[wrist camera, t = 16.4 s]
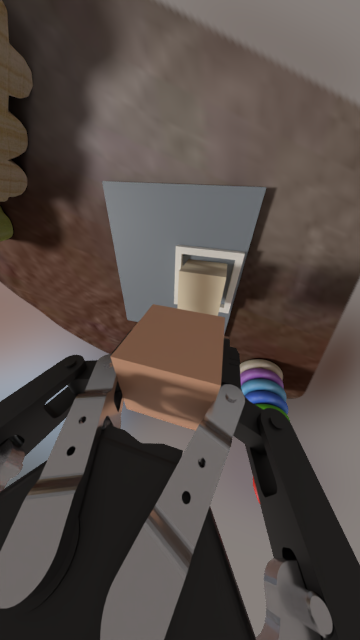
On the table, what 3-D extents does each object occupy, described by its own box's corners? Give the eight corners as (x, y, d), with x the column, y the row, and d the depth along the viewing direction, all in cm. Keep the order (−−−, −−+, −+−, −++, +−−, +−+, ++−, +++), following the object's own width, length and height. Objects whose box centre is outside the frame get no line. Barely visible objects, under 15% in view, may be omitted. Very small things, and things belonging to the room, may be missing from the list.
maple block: (186, 293, 24) (177, 310, 20) (188, 259, 21) (178, 271, 17) (219, 298, 23) (217, 317, 19) (227, 263, 20) (226, 277, 16)
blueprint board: (130, 316, 31) (124, 322, 29) (107, 182, 19) (96, 180, 18) (223, 335, 28) (222, 343, 26) (264, 188, 16) (268, 186, 14)
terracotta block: (156, 352, 14) (126, 408, 10) (153, 304, 11) (110, 356, 7) (212, 366, 13) (203, 433, 9) (224, 317, 10) (220, 385, 6)
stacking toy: (286, 381, 30) (340, 549, 15) (244, 386, 34) (254, 523, 19) (273, 352, 27) (325, 527, 12) (229, 361, 31) (227, 501, 16)
